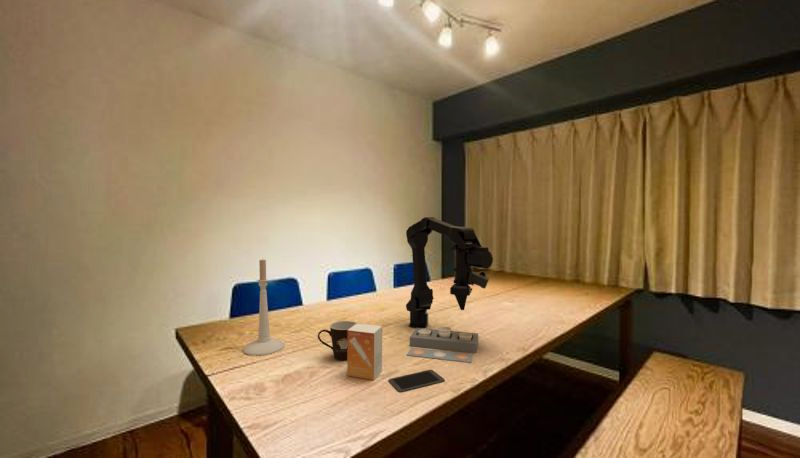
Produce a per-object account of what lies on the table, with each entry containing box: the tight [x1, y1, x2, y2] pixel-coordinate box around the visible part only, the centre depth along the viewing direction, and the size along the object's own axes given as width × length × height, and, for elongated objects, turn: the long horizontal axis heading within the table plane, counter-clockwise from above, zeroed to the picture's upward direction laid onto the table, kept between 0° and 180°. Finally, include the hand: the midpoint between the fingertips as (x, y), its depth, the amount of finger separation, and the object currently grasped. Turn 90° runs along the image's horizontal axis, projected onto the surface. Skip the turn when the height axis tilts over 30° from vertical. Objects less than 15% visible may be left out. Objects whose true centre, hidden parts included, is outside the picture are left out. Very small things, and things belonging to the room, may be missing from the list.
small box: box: [346, 323, 383, 381], centre depth 97 cm, size 8×6×13 cm
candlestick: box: [242, 259, 286, 356], centre depth 115 cm, size 13×13×30 cm
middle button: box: [437, 326, 452, 338], centre depth 120 cm, size 4×4×3 cm
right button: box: [459, 331, 472, 340], centre depth 118 cm, size 4×4×3 cm
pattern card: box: [406, 347, 473, 364], centre depth 110 cm, size 20×6×1 cm, turn 74°
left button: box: [418, 328, 431, 336], centre depth 122 cm, size 4×4×3 cm
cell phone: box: [387, 369, 446, 393], centre depth 93 cm, size 7×14×1 cm, turn 116°
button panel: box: [409, 327, 479, 354], centre depth 120 cm, size 22×10×3 cm, turn 74°
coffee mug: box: [317, 320, 358, 362], centre depth 109 cm, size 12×9×10 cm
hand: (462, 309), depth 120 cm, fingers closed
